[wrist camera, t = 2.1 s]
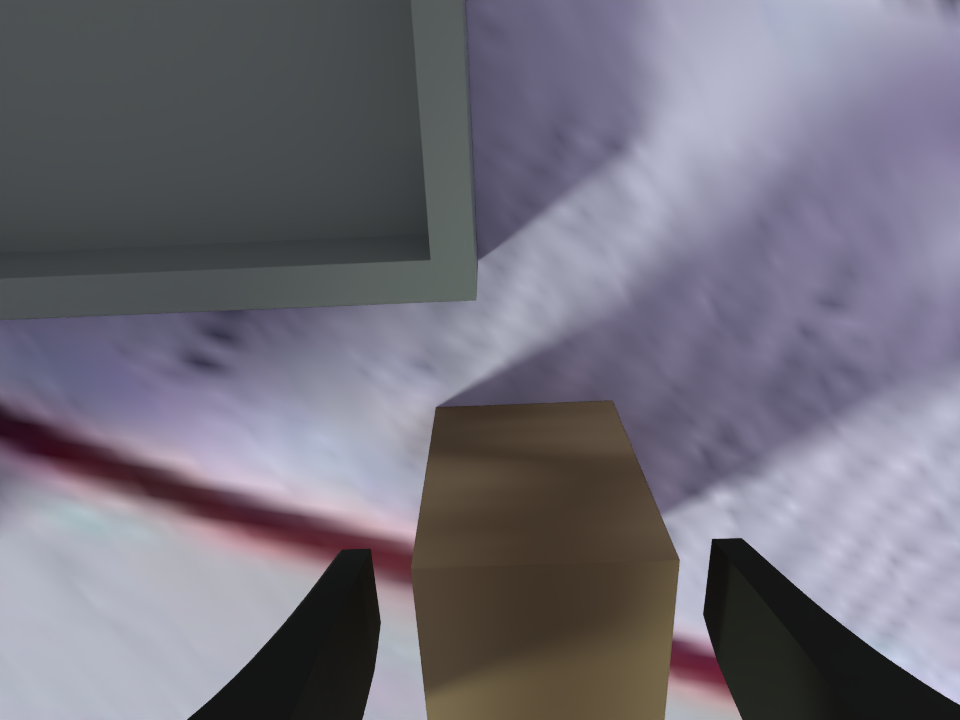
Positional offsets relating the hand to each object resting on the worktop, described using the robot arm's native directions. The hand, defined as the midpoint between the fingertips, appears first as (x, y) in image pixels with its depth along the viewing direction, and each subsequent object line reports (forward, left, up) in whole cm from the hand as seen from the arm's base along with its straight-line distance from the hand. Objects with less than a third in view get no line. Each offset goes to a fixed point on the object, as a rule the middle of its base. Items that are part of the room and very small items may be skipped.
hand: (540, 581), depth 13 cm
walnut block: (0, 0, -4) cm, 4 cm away
